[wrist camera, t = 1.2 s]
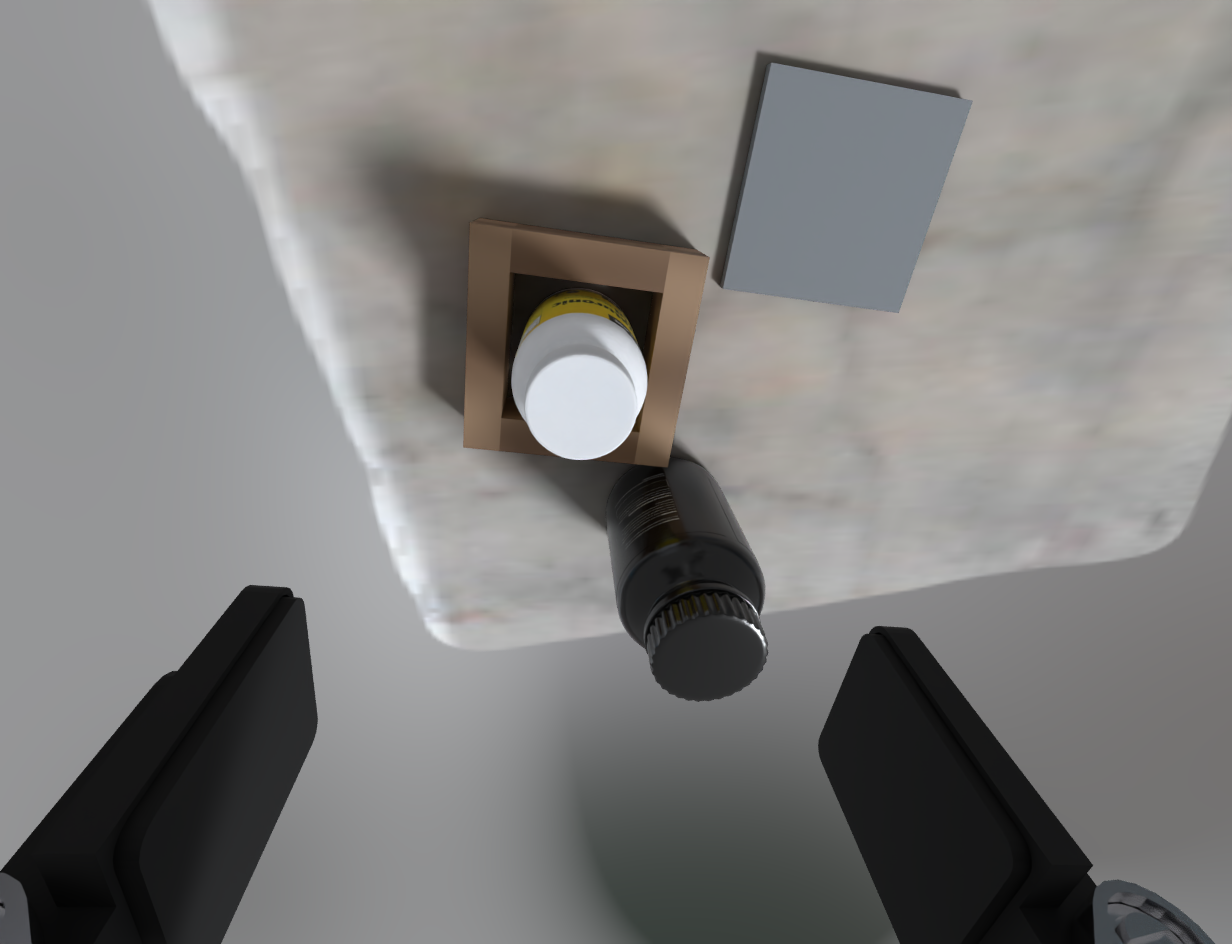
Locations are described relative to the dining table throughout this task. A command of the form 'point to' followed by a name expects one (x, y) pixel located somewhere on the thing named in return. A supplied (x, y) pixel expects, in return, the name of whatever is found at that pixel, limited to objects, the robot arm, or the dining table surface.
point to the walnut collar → (583, 260)
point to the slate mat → (839, 188)
